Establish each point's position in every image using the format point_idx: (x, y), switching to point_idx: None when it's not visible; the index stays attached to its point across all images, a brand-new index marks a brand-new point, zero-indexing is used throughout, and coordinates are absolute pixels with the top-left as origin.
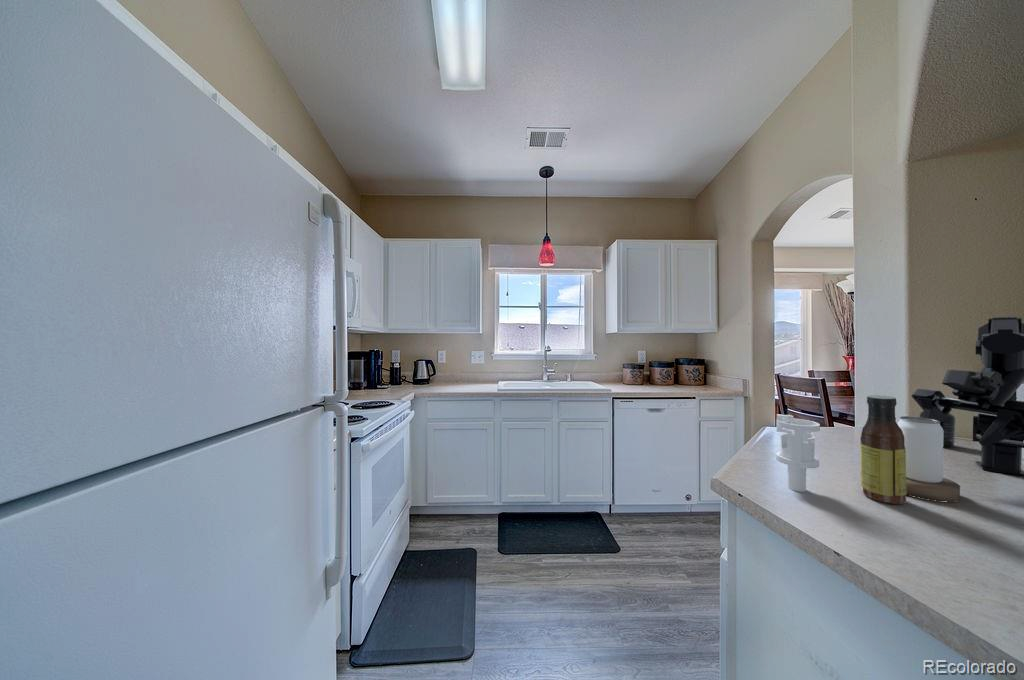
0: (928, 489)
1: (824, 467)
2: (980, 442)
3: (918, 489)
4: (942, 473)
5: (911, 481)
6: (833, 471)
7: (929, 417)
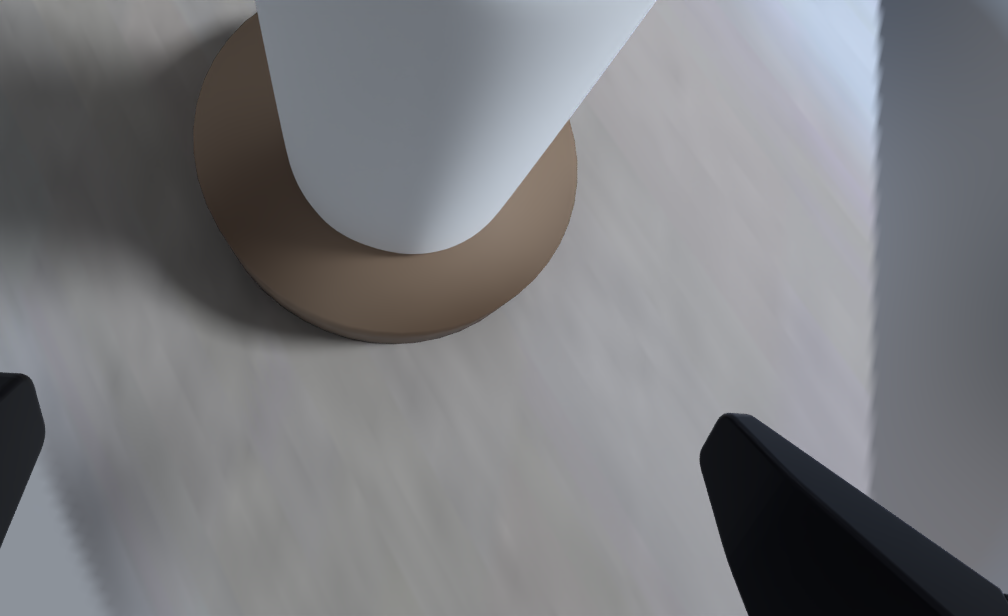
0: None
1: (743, 85)
2: (4, 373)
3: None
4: (289, 154)
5: None
6: (689, 64)
7: (920, 606)
